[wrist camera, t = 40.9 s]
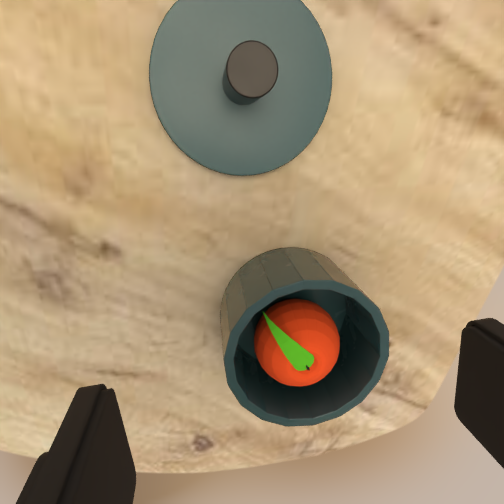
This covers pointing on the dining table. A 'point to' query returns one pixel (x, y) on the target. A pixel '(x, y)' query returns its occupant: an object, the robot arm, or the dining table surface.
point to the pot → (327, 297)
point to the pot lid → (240, 81)
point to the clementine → (296, 342)
